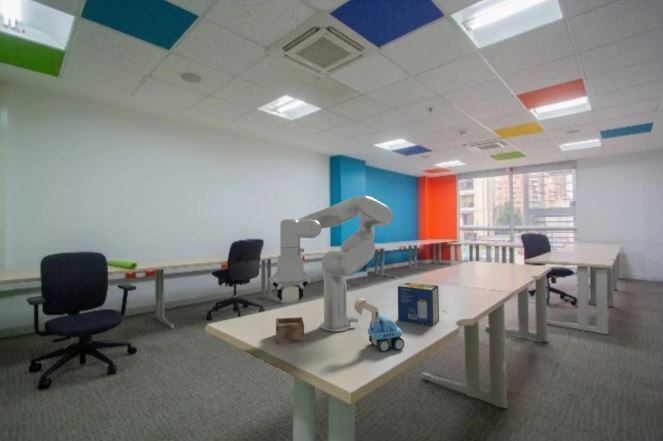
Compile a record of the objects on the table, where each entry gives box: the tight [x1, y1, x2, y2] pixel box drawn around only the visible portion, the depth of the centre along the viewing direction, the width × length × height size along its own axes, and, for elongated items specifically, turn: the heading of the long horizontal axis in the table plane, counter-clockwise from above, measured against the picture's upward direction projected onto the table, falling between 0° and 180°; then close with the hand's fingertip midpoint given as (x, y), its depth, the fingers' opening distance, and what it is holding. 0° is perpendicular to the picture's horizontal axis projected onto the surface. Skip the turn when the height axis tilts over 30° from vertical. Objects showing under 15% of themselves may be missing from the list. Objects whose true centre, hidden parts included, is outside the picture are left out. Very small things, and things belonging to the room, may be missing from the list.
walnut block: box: [275, 316, 305, 345], centre depth 115 cm, size 10×10×6 cm
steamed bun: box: [281, 284, 299, 304], centre depth 116 cm, size 7×7×7 cm
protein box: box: [397, 282, 440, 327], centre depth 137 cm, size 10×15×16 cm
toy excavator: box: [354, 297, 405, 353], centre depth 106 cm, size 9×17×17 cm, turn 106°
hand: (290, 298), depth 116 cm, fingers closed on steamed bun, 6 cm apart
